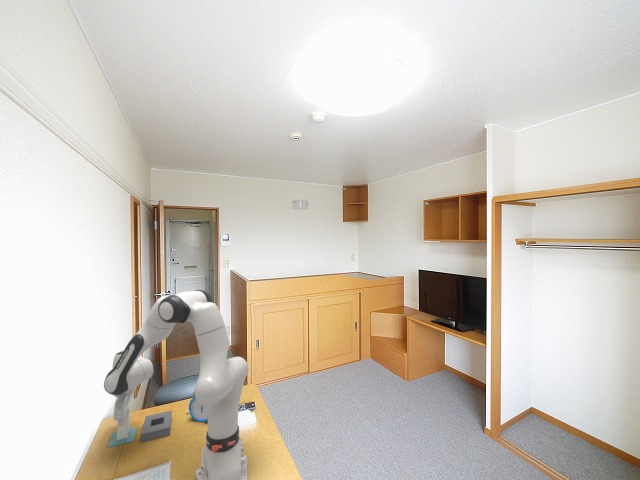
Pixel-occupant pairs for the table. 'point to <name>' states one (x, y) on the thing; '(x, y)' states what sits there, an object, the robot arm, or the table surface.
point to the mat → (116, 442)
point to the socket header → (156, 426)
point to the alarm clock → (198, 410)
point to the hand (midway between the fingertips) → (123, 418)
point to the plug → (124, 427)
